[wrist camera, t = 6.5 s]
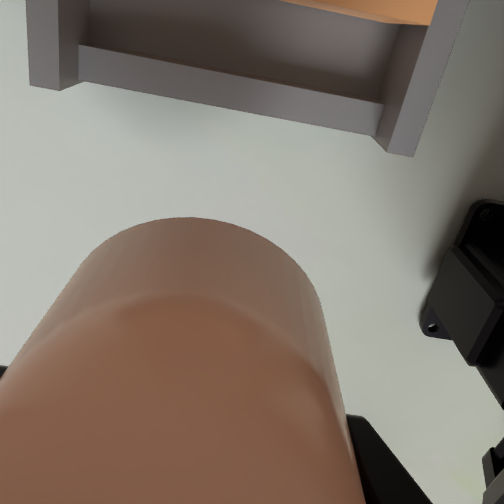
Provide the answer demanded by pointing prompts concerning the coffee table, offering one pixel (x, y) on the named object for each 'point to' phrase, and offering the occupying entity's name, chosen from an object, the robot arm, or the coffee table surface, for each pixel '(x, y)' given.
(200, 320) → the jar
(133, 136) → the coffee table surface
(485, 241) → the robot arm
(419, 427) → the coffee table surface
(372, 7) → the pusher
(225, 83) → the lane
